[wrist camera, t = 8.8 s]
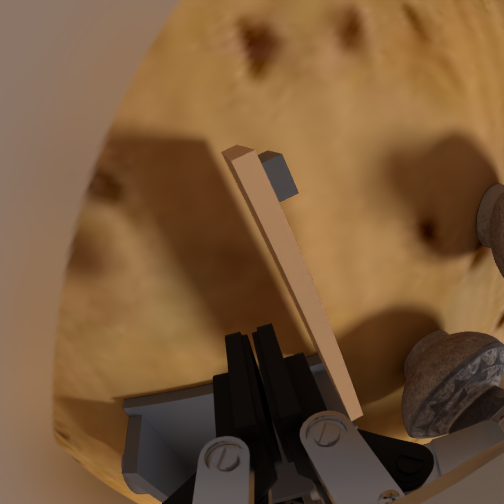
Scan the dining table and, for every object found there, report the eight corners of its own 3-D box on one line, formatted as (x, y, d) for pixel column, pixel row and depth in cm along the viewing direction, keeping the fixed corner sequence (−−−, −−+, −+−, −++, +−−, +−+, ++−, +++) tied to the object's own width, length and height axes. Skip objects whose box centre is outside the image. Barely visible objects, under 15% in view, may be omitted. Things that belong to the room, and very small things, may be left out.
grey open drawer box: (323, 351, 21) (363, 426, 14) (331, 431, 26) (354, 487, 19) (104, 401, 20) (89, 475, 13) (166, 467, 25) (167, 524, 18)
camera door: (346, 355, 20) (377, 407, 15) (324, 366, 20) (351, 421, 15) (255, 136, 13) (284, 136, 9) (221, 152, 14) (231, 161, 9)
